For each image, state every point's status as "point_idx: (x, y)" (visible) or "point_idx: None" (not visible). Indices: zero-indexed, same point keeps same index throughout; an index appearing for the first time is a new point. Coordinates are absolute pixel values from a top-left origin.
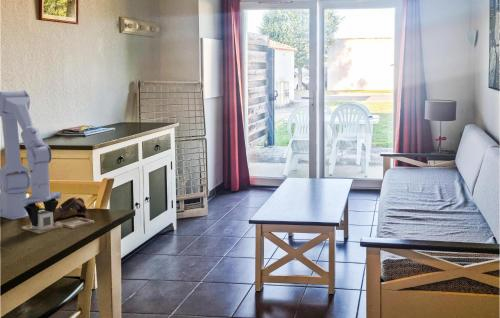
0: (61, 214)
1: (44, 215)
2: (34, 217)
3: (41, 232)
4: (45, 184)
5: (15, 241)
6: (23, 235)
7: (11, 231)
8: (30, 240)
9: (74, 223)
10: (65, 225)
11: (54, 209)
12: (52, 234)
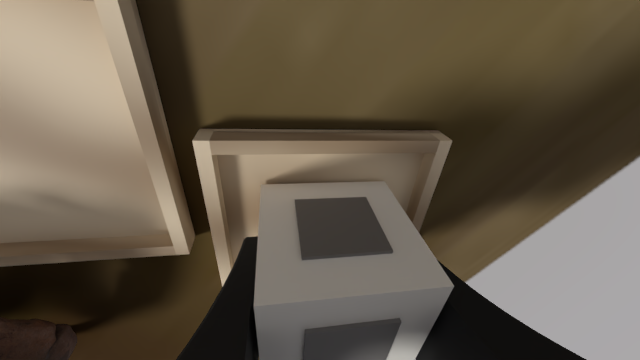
0: (61, 336)
1: (384, 278)
2: (465, 288)
3: (425, 134)
4: None
5: (625, 120)
6: (486, 190)
7: None
8: (606, 46)
9: (16, 148)
10: (157, 129)
11: (196, 356)
12: (400, 31)
